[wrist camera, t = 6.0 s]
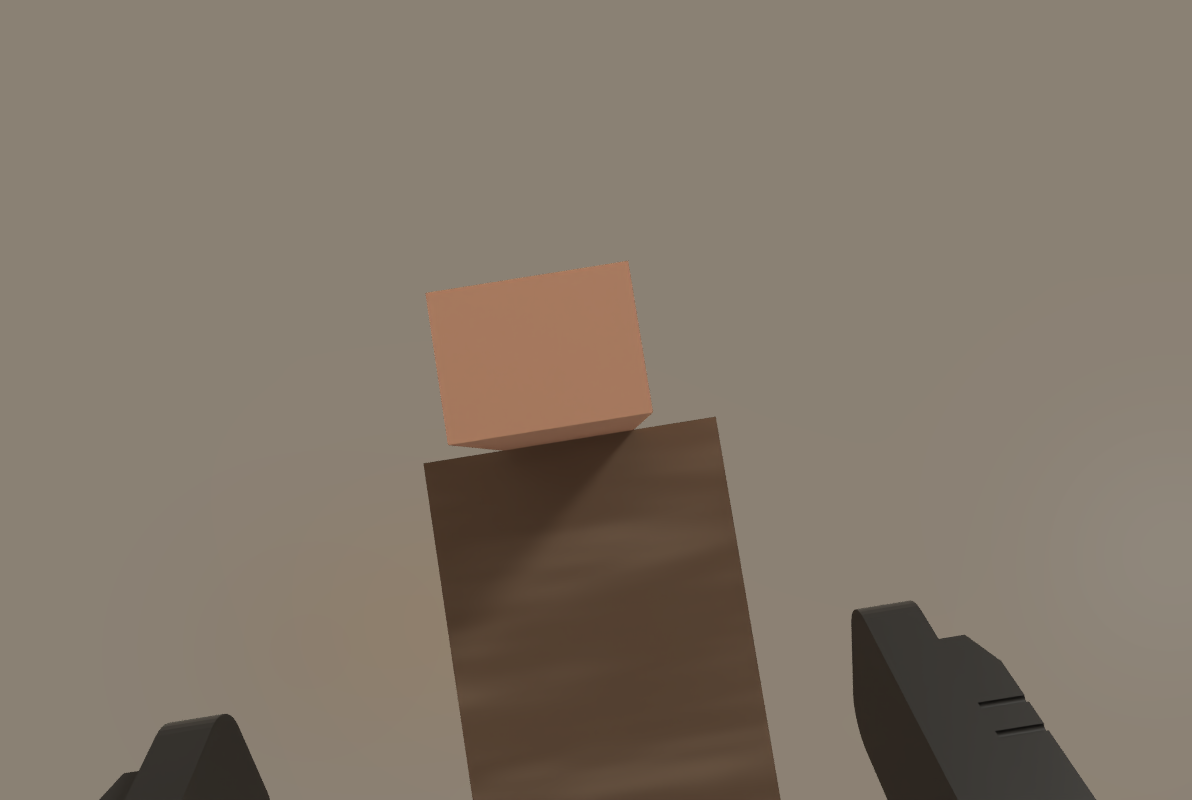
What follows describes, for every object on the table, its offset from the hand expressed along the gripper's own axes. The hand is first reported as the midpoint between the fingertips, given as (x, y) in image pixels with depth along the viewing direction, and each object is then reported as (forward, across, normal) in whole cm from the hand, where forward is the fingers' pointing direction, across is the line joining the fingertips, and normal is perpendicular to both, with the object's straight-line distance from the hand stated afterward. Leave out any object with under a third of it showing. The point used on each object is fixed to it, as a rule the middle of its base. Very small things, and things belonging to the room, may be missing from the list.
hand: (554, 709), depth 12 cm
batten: (+17, 0, -5) cm, 18 cm away
